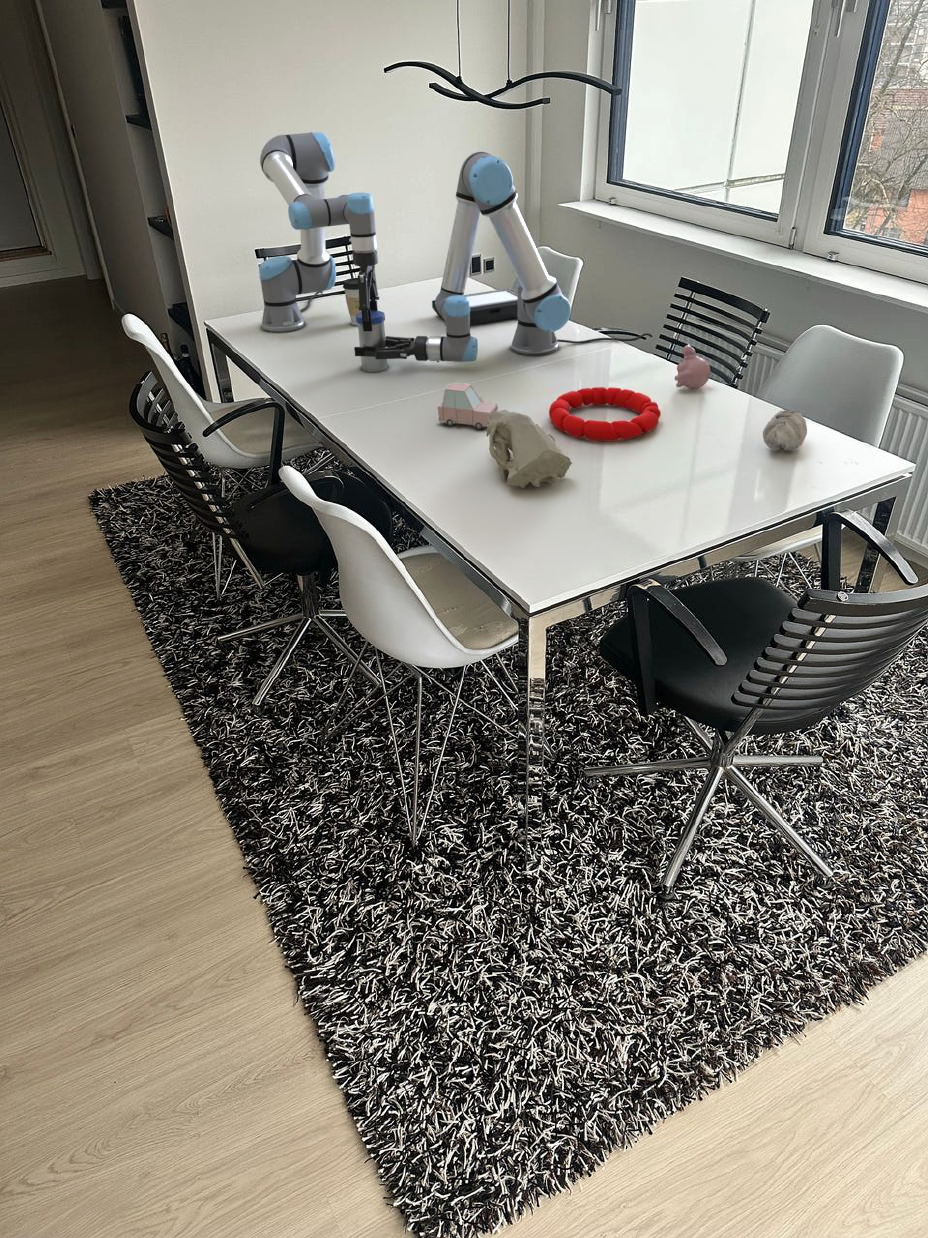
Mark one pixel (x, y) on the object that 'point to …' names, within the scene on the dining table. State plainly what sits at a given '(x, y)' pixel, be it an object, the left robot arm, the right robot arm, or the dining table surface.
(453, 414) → the toy car
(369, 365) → the jar
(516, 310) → the electronic device
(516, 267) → the right robot arm
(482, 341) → the dining table surface
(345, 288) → the coffee cup
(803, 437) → the grey rounded lump
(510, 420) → the grey rock
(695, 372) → the figurine
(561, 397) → the decorative ring
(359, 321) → the lid
